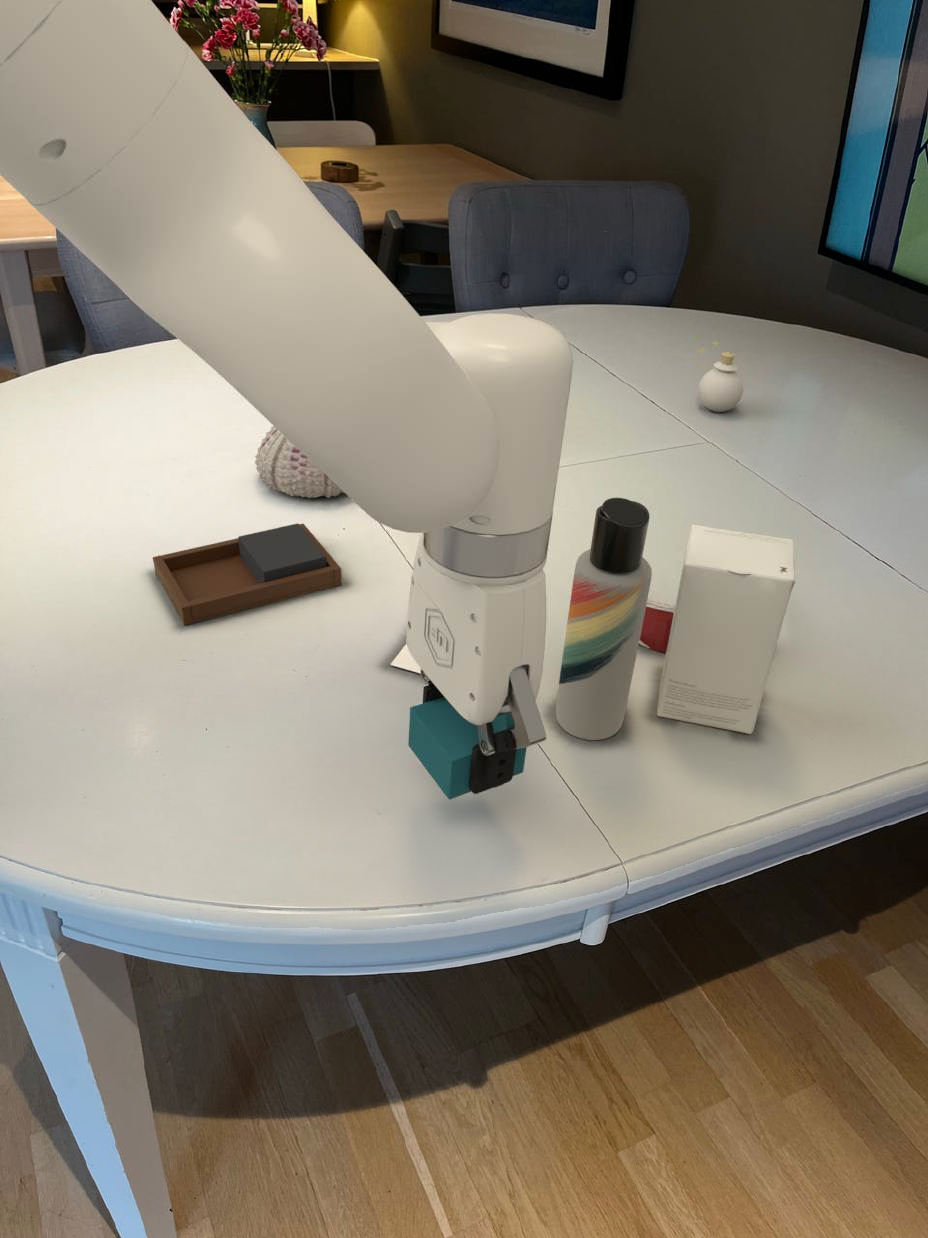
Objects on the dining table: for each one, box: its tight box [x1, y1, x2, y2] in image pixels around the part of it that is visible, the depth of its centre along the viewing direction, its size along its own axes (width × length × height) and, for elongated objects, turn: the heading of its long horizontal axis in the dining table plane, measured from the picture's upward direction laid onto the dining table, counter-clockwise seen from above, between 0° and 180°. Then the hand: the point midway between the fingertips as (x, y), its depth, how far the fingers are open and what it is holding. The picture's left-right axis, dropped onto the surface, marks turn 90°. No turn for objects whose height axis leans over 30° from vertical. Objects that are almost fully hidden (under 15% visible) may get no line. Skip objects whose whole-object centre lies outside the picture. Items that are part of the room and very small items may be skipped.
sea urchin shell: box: [254, 425, 346, 499], centre depth 109 cm, size 13×14×8 cm
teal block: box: [407, 697, 528, 800], centre depth 66 cm, size 6×6×4 cm
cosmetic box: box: [656, 524, 796, 735], centre depth 77 cm, size 8×7×16 cm
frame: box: [152, 523, 342, 626], centre depth 93 cm, size 16×10×2 cm, turn 120°
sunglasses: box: [639, 598, 676, 653], centre depth 93 cm, size 17×17×5 cm
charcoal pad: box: [237, 522, 327, 584], centre depth 94 cm, size 6×7×2 cm
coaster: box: [390, 643, 421, 674], centre depth 86 cm, size 8×8×1 cm
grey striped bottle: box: [555, 497, 653, 741], centre depth 74 cm, size 6×6×20 cm
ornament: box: [695, 338, 744, 413], centre depth 132 cm, size 6×7×10 cm
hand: (465, 752), depth 67 cm, fingers closed on teal block, 6 cm apart
